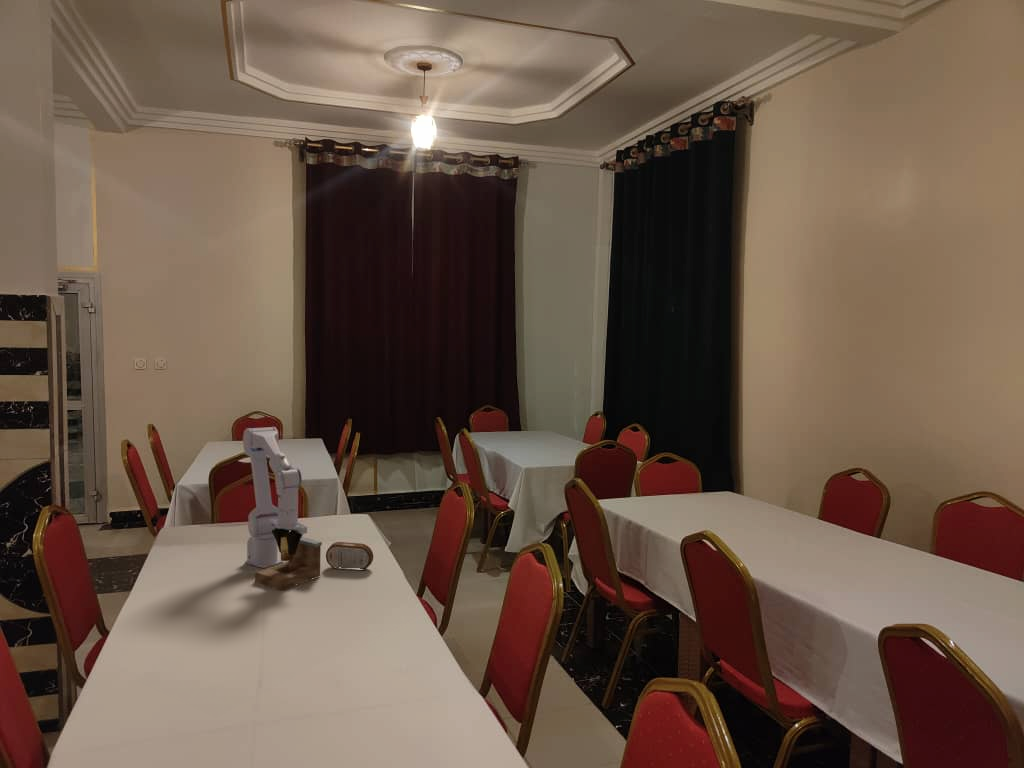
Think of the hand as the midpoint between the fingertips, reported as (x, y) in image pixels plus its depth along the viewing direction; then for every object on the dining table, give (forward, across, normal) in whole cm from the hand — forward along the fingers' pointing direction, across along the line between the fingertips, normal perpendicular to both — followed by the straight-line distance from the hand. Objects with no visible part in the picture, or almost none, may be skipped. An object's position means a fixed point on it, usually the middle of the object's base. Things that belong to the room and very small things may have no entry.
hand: (287, 553), depth 214 cm
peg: (+2, 0, 0) cm, 2 cm away
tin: (+8, +8, +18) cm, 21 cm away
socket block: (+8, 0, 0) cm, 8 cm away
